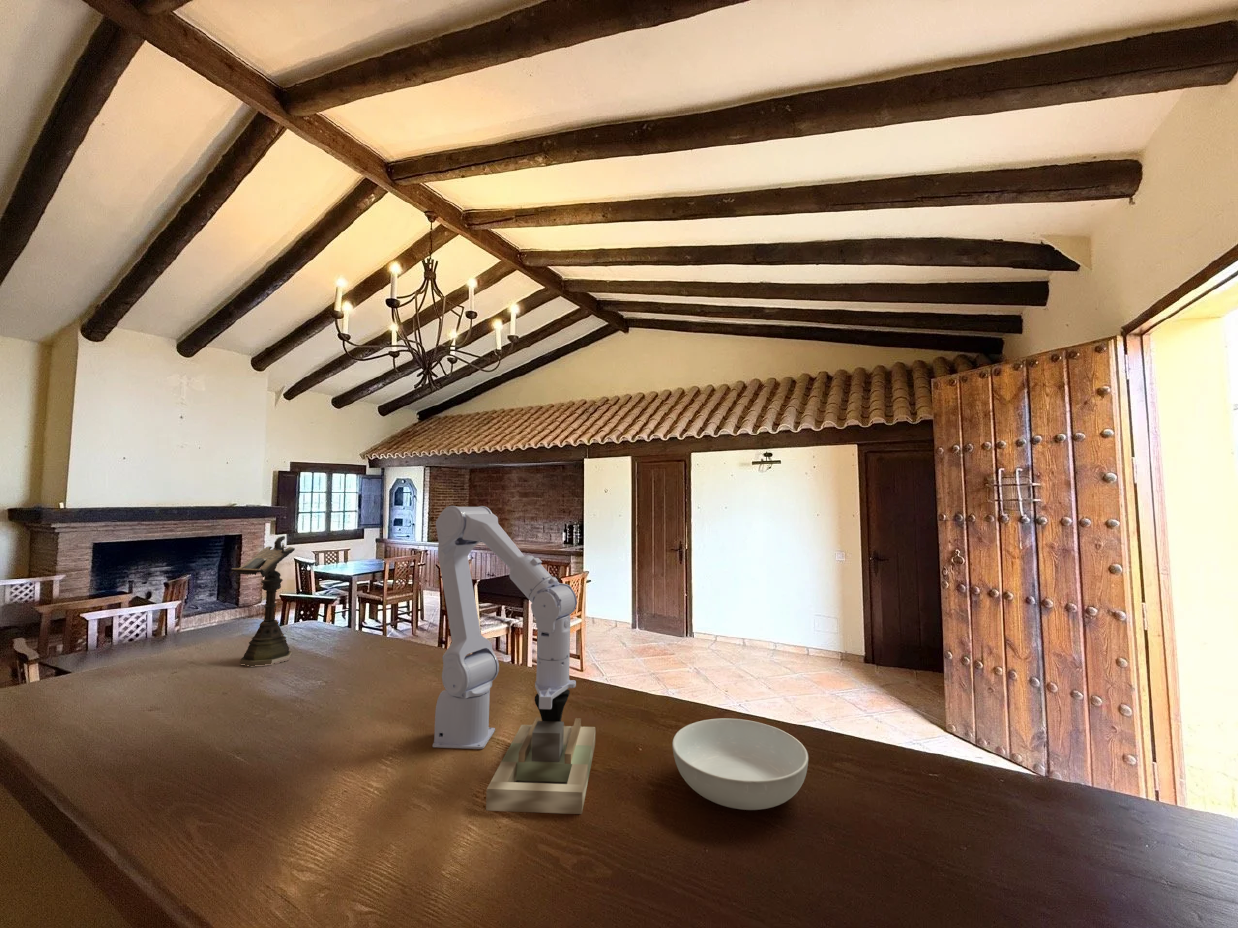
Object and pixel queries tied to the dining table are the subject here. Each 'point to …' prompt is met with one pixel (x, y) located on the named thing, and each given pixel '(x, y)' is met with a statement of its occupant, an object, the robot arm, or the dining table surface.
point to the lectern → (267, 607)
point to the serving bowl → (740, 762)
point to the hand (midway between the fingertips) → (551, 736)
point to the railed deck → (543, 774)
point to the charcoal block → (547, 741)
